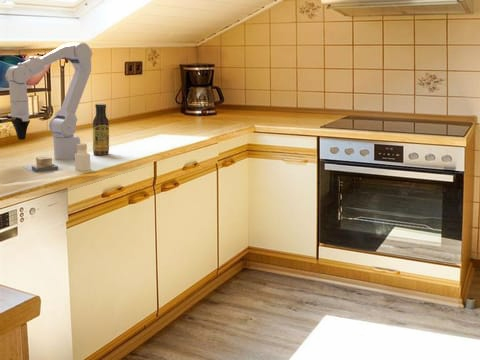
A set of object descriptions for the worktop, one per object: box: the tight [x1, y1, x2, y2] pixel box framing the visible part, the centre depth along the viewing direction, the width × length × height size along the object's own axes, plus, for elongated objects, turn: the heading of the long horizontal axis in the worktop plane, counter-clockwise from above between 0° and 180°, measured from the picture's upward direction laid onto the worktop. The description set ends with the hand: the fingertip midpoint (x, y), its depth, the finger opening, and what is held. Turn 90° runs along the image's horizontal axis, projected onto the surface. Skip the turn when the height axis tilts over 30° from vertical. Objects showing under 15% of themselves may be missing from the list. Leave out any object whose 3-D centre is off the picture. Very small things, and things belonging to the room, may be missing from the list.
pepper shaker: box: [74, 143, 92, 172], centre depth 213 cm, size 4×4×10 cm
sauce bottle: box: [92, 103, 110, 156], centre depth 245 cm, size 7×6×20 cm
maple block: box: [35, 155, 53, 168], centre depth 214 cm, size 4×4×4 cm
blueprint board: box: [21, 163, 63, 174], centre depth 216 cm, size 10×15×2 cm, turn 34°
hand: (21, 139), depth 222 cm, fingers closed
